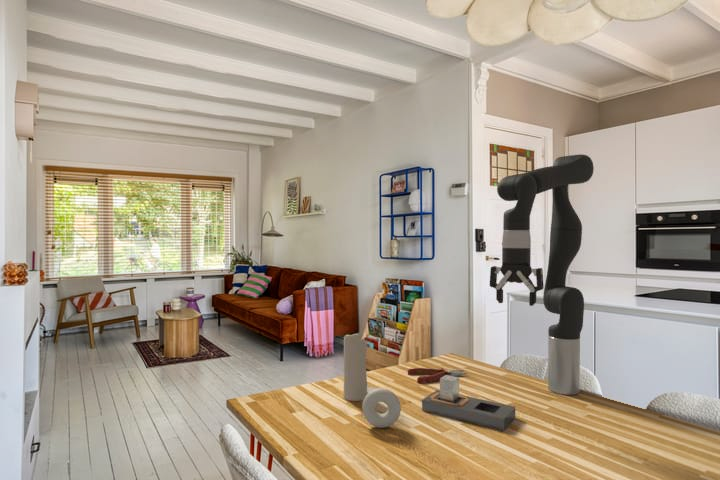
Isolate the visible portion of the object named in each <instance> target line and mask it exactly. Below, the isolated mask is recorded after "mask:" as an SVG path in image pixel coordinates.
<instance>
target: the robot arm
mask: <svg viewBox="0 0 720 480" xmlns="http://www.w3.org/2000/svg"><path fill="white" fill-rule="evenodd" d="M594 169H595V167H594V162H593V160H592V158H591V157H590V156H589V155H587V154H582V153H581V154H573V155H566V156H565V155H564V156H559V157H557V158H555V160H554V161H553V164H552V166H551V165H550V166H544V167H540V168H536V169H533V170H532V169H531V170H530V171H527V172H524V173H518V174H511V175H507V176H505V177H502V179H500V181H499V182H498V184H497V187H496V192H497V194H498V197H500V199H502V200H503V201H505V202H506V201H507V202H514V201H516V203H515V205H514V206H513V208H509V209H507V210H505V211H504V213H503V217H502V218H503V223H502V224H503V227H502V228H503V231H502V238H501V239H502V242H501V246H502V247H501V248H502V249H501V251H502V253H501V261H502V262H501V264H502V265H501V267H500V266H496V265H493V266H491V267H490V271H489V273H490V274H489V275H490V276H489V287H490V288H493V289H495V290H496V291H495V292H496V295H495V296H496V301H497V302H498V304H502V303H503V302H504V289H503V288H504V287H505V285H506V284H507V283H508V282H509V283H511V284H512V283H516V284H522V283H523V284H524V285H525V286H526V287H527V289H529V290H528V291H530V292H529V296H528V297H529V299H528V300H529V301H528V302H529V303H528V304H529V306H534V305H535V304H536V303H537V292H539V291H543V296H542V297H543V305H544V308H545V310H547V311H548V312H549V313H552V314H556V315H559V317H558V318H559V319H558V323H556V324H552V325H549V327H548V329H547V330H548V331H547V332H548V335H547V336H548V337H547V338H548V342H547V343H548V345H547V346H548V347H547V350H548V351H547V357H548V358H547V360H548V361H547V364H548V365H547V390H549V391H551V392H552V393H556V394H559V395H565V396H566V395H567V396H573V395H578V394H580V382H581V380H580V379H581V377H580V375H581V374H580V373H581V369H580V368H581V367H580V365H581V333H582V330H583V326H584V314H585V313H584V312H585V299H584V295H583V292H582V291H581V290H580V289H579V288H577V287H573V286H566V281H567V274H568V273H567V272H568V270H569V268H570V266H571V264H572V262H573V261H574V260H575V258H576V256H577V254H578V253H579V251H580V248H581V246H582V240H583V239H582V235H583V224H582V222H581V219H580V217H579V215H578V214H577V212H576V210H575V208H573V206H572V203H571V201H570V197H569V185H579V184H584V183H587V182H589V181H590V179H592V177H593V174H594ZM549 190H551V191H552V206H551V207H552V208H551V223H550V234H549V252H548V264H547V272H546V277H545V278H546V279H545V284H544V270H543V268H542V267H538V268H532V267H531V266H532V265H531V257H532V256H531V252H532V251H531V249H532V247H531V245H532V244H531V243H532V242H531V241H532V240H531V231H530V230H531V227H530V225H531V224H530V223H531V214H532V210H533V206H534V202H535V199H536V195H538V194H541V193H544V192H547V191H549ZM499 273H501V274H502V275H503V277H502V278H501V279H499V282H498V281H497V280H498V274H499ZM532 273H533V275H534V277H536V285H535V284H534V283H533V281H532V280H531V278H530V275H531V274H532ZM497 282H498V283H497Z"/></svg>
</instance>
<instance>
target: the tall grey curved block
mask: <svg viewBox="0 0 720 480" xmlns="http://www.w3.org/2000/svg"><path fill="white" fill-rule="evenodd" d="M360 337H361V335H360V333H353V334H345V335H344V337H343V399H344V400H346V401H348V402H349V401H351V402H361V401H364V399H365V397H366V395H367V394H368V393H369V392H370V391H372V390H374V389H378V388H377V387H373V386H368V381H367V379H368V378H367V365H366V364H367V363H366V362H367V353H368V352H367V350H368V341H366V339H365V338H364V337H362V338H360Z"/></svg>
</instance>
